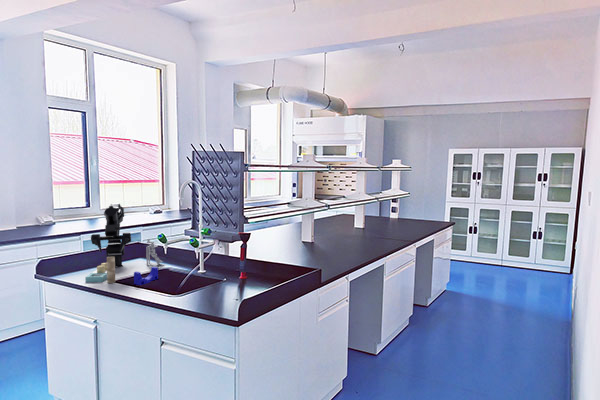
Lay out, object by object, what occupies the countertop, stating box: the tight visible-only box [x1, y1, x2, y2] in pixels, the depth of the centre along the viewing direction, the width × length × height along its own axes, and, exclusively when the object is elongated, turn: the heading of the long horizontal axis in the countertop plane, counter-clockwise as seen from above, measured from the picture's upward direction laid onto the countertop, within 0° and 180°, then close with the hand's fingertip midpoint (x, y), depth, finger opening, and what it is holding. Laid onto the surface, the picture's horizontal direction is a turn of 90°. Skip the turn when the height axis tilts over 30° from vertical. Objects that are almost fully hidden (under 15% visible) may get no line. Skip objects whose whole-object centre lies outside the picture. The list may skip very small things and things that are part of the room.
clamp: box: [145, 238, 164, 267], centre depth 229 cm, size 4×10×15 cm, turn 89°
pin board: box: [84, 262, 107, 283], centre depth 204 cm, size 17×8×6 cm, turn 6°
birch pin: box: [106, 256, 116, 284], centre depth 196 cm, size 4×4×12 cm
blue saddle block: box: [133, 266, 159, 286], centre depth 198 cm, size 12×4×6 cm, turn 150°
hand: (110, 252), depth 202 cm, fingers open, 9 cm apart
